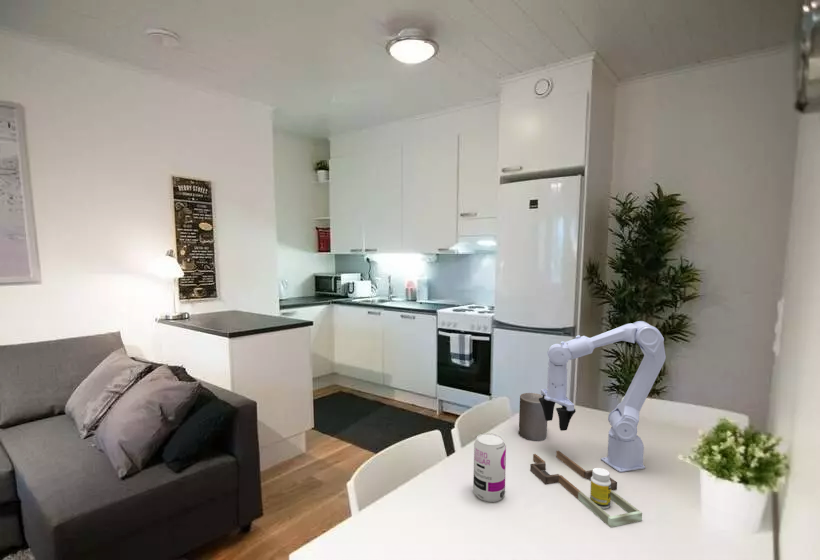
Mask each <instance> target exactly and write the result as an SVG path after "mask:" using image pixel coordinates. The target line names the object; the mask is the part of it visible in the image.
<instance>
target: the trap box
mask: <svg viewBox="0 0 820 560" xmlns="http://www.w3.org/2000/svg"><path fill="white" fill-rule="evenodd" d="M555 454H556V455H555V456H556V458H557V459H558V460H559V461H561V462H562V463H563V464H565V465H566V466H567V467H568V468H570V469H571V470H572V471H573V472H575V473H576V474H577V475H579V476H580V477H581V478H583V479H585V480H588V481H589V482H591V477H592V471H593V469H591V470H585V469H584V468H583V467H581V466H580V465H579V464H578V463H576V461H575V462H574V461H573V459H570V458H569V457H568V456H567V455H566V454H564V453H563V452H561V451H560V450H556V452H555ZM532 461H533V462H534V463H531V464H530V467H529V468H530V470H529V471H530V472H531V473H532V474H533V475H534V474H535V475H534V476H535V477H536V478H538V480H540V481H541V482H542V483H543V485H552V484H560V485H561V486H562V487H563V488H564V489H566V491H568V492H569V493H570V494H571V495H572V496H574V497H575V499H577V500H579V501H580V503H582V504H583V505H584V506H585V507H586V508H588V509H589V510H590V511H591V512H592V513H593V514H594V515H595V516H596V517H598V518H599V519H600V520H601V521H602V522H604V523H605V524H606V525H607V526H608V527H610V528H613V527H618V526H623V525H629V524H633V523H637V522H642V521H643V512H642V511H640V510H639V509H638V508H637V507H635V506H633V505H632V504H631V503H630V502H628V501H627V500H626V499H624V498H623V497H622V496H620V495H619V494H618V493H617V492H615V491H616V490H618V482H617V481H616V480H614V479H613V478H611V477H610V479H609V480H610V481H611V501H612V502H614V503H615V504H616V505H617V506H619V507H620V508H622V510H624V511H625V512H626V513H621V514H616V515H610V514H609V513H608V512H606V511H605V510H604V509H603V508H600V507H599V506H598V505H597V504H595V503H594V502H593V501H592V500H591V499H590V497H588V496H587V495H586V494H585V493H583V492H582V491H581V490H580V489H579V488H577V487H576V485H574V484H573V483H571V482H570V481H569V480H568V479H567V478H566V477H564V476H563V475H560V474H559V473H556V474H550V473H549V472H548V471H547V470H546V469H547V468H546V465H547V464H546V461H545V460H544V459H542V458H541V457H540V456H539V455H538V454H536V453H533V454H532Z"/></svg>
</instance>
